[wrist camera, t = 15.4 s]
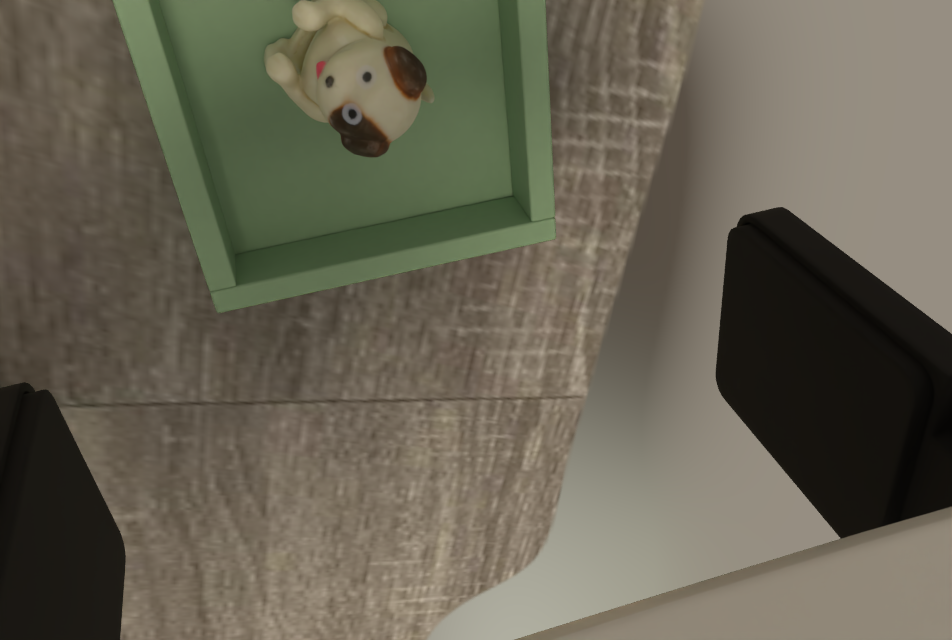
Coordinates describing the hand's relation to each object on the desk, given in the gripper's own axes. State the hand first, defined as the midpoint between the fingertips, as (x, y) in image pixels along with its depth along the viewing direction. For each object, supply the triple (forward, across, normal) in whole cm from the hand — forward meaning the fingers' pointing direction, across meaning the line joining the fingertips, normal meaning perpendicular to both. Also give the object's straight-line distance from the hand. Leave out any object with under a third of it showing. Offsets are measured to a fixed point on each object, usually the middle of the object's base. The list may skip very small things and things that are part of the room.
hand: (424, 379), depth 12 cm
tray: (+16, -1, 0) cm, 16 cm away
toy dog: (+15, -1, 0) cm, 15 cm away
